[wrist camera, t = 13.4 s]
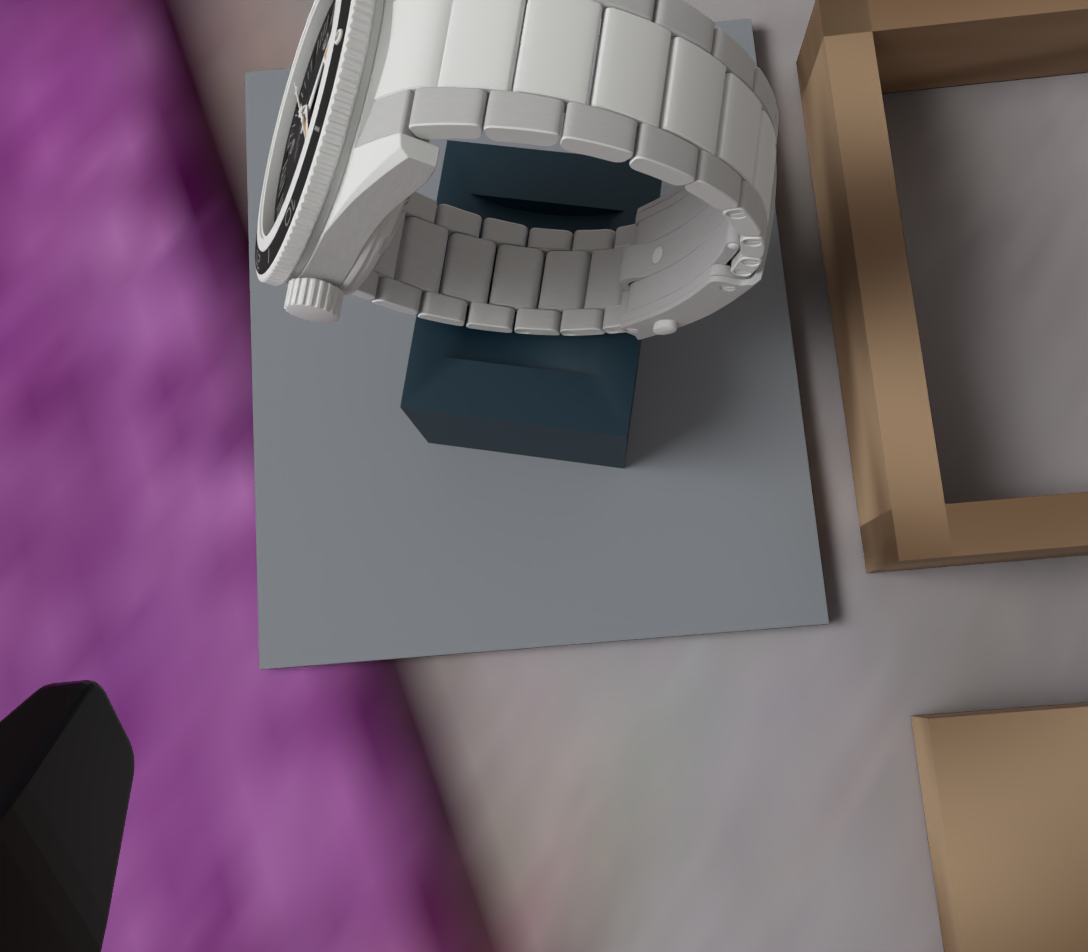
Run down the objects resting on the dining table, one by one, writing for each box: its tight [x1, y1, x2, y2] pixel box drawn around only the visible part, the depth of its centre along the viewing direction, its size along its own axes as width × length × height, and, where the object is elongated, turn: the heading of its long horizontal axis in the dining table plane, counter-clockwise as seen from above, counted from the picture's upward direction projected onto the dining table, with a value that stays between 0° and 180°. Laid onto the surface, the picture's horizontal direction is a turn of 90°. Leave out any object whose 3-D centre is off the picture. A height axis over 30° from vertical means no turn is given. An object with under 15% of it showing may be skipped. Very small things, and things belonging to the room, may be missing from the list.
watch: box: [255, 0, 779, 469], centre depth 17 cm, size 6×8×11 cm
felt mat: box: [245, 19, 829, 669], centre depth 23 cm, size 14×12×1 cm
